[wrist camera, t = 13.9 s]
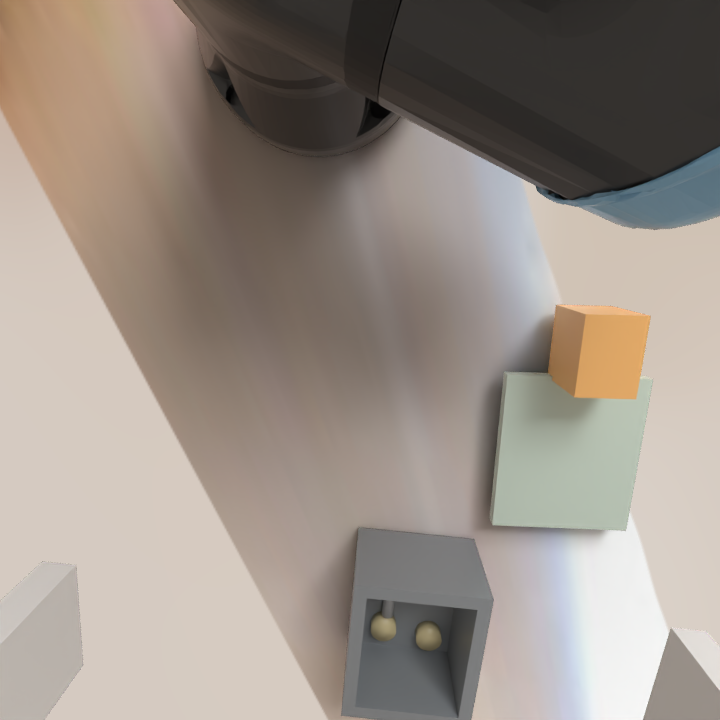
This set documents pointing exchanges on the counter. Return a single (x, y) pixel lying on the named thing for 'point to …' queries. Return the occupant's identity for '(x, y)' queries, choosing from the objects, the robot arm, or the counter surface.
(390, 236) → the counter surface
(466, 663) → the tub
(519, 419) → the lid
